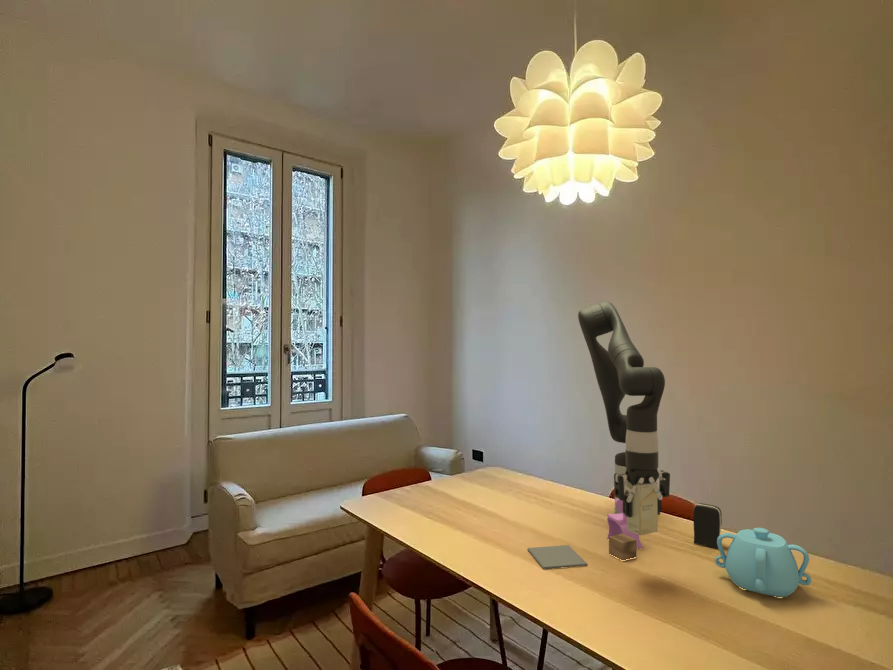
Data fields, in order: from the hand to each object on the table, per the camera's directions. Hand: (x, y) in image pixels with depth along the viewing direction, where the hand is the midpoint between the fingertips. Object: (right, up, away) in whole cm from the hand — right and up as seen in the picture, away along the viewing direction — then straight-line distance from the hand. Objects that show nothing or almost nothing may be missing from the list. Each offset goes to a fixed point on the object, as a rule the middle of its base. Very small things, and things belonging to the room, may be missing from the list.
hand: (642, 514), depth 126 cm
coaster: (-19, -15, +11) cm, 26 cm away
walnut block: (-1, -16, +12) cm, 20 cm away
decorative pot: (+27, -16, -4) cm, 31 cm away
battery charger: (+26, -16, +20) cm, 37 cm away
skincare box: (0, -4, 0) cm, 4 cm away
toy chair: (+3, -16, +21) cm, 26 cm away
